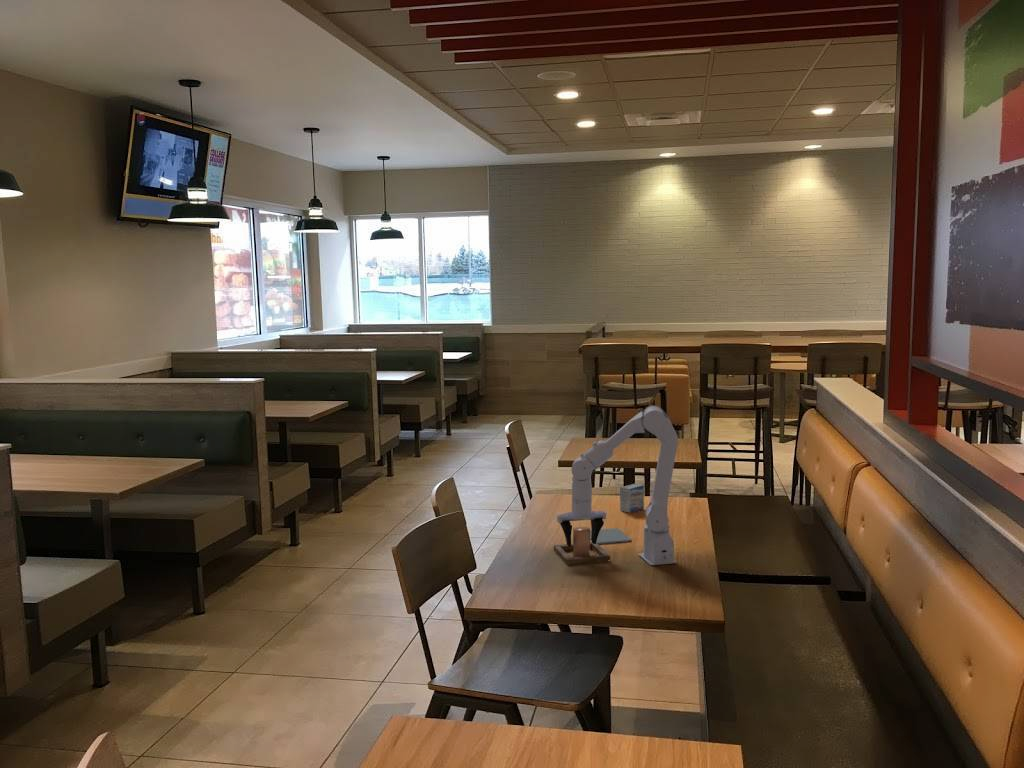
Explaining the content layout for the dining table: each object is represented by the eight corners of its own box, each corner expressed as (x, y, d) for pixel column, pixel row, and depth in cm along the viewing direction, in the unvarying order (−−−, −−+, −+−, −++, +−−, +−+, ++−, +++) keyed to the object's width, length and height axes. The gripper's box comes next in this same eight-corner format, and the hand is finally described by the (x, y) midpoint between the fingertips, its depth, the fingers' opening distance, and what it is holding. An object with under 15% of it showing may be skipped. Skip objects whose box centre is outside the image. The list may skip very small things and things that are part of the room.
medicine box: (629, 513, 281) (629, 489, 280) (619, 510, 284) (619, 486, 283) (644, 509, 286) (644, 485, 285) (634, 506, 289) (634, 482, 288)
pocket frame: (610, 560, 234) (610, 555, 234) (567, 565, 231) (567, 559, 231) (595, 546, 247) (595, 541, 247) (553, 550, 244) (553, 545, 244)
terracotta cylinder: (592, 557, 237) (592, 531, 236) (576, 559, 236) (576, 532, 235) (586, 552, 242) (586, 526, 241) (570, 553, 241) (570, 527, 240)
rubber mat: (631, 541, 251) (631, 539, 251) (594, 544, 248) (594, 542, 248) (617, 529, 263) (617, 528, 263) (582, 532, 260) (582, 531, 260)
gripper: (561, 504, 231) (561, 550, 233) (610, 500, 235) (609, 546, 236) (554, 497, 238) (554, 542, 240) (601, 494, 241) (601, 538, 243)
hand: (581, 544), depth 239 cm, fingers open, 7 cm apart
